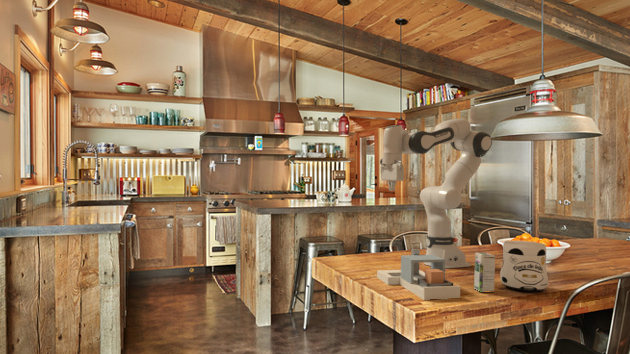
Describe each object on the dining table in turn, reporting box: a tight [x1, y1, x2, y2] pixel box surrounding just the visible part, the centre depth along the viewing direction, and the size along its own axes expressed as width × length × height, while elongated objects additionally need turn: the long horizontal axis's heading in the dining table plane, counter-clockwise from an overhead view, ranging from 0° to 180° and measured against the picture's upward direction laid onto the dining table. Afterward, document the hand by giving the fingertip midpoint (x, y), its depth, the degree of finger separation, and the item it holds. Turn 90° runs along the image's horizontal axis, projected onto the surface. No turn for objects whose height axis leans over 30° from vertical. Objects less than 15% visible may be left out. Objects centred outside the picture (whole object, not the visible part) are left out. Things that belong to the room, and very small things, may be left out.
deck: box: [376, 269, 461, 301], centre depth 175 cm, size 19×36×4 cm, turn 12°
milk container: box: [499, 240, 549, 292], centre depth 176 cm, size 17×17×18 cm
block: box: [424, 268, 444, 283], centre depth 165 cm, size 5×5×6 cm
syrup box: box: [473, 251, 496, 293], centre depth 171 cm, size 6×6×14 cm
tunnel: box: [400, 254, 446, 284], centre depth 175 cm, size 14×10×9 cm
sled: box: [410, 248, 454, 287], centre depth 171 cm, size 10×23×11 cm, turn 12°
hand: (391, 190), depth 202 cm, fingers closed
